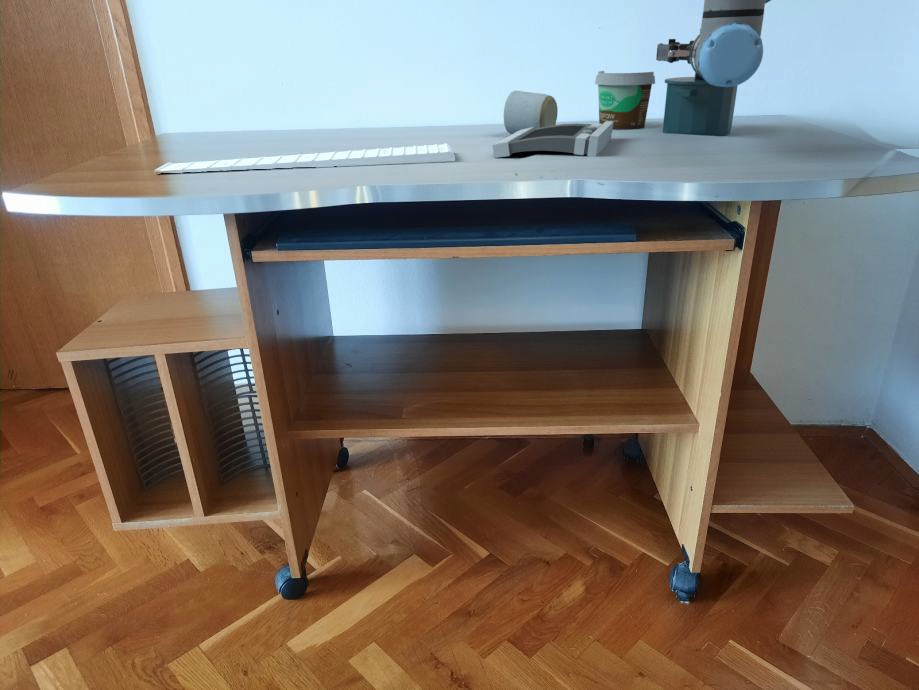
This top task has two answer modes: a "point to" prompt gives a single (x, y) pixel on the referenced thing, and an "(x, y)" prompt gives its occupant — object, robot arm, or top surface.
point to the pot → (699, 109)
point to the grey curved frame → (557, 139)
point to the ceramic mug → (529, 111)
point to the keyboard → (326, 159)
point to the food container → (624, 98)
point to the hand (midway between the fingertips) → (703, 49)
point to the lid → (687, 80)
